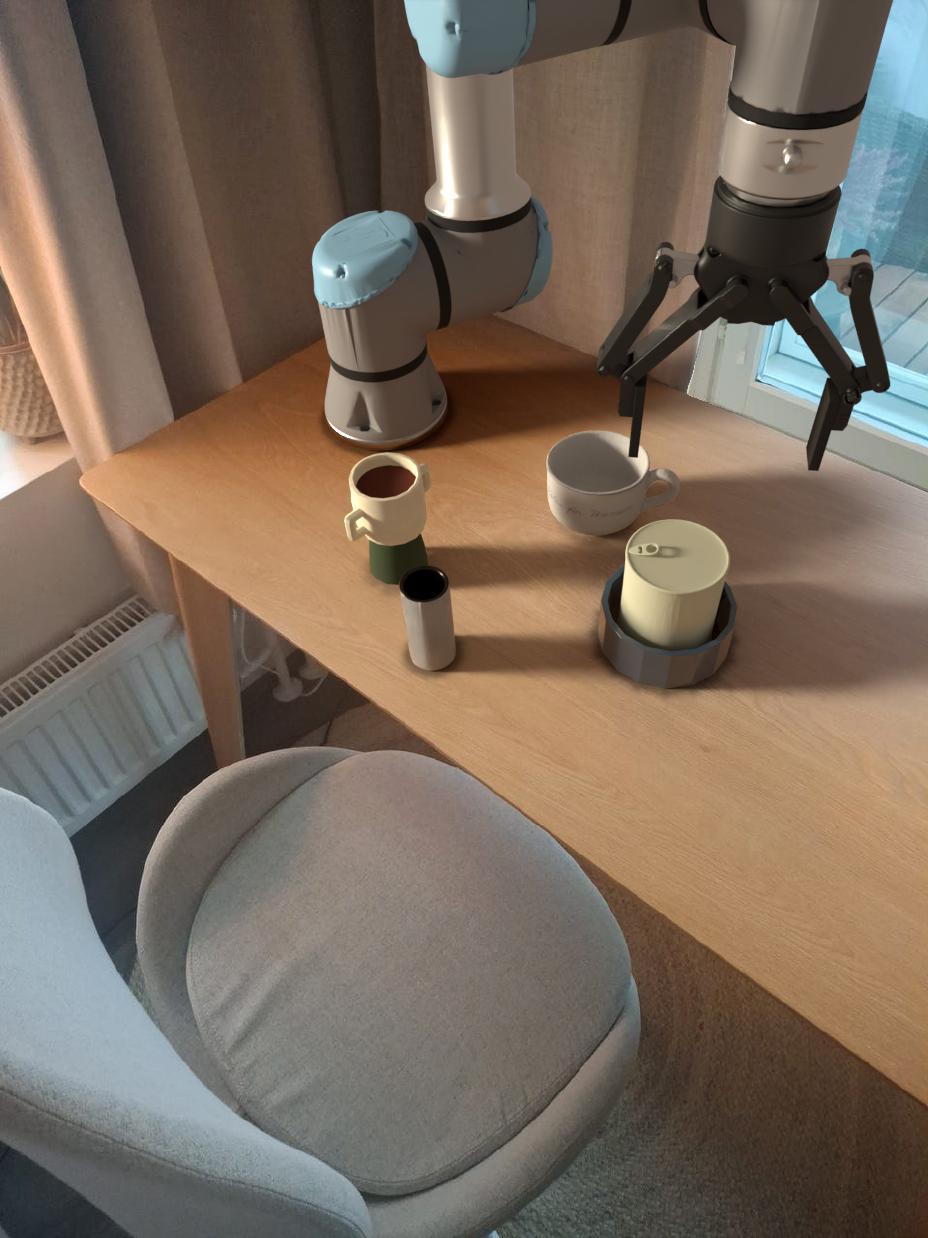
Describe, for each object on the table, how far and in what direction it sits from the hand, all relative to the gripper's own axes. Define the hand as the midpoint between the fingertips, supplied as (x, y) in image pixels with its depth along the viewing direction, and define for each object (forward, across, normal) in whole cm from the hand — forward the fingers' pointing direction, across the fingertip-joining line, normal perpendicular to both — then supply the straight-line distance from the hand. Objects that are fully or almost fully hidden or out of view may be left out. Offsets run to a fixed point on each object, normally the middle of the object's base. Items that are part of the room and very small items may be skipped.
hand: (721, 453), depth 71 cm
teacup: (+23, -9, +16) cm, 29 cm away
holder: (+23, -2, 0) cm, 23 cm away
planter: (+23, -24, -5) cm, 34 cm away
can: (+23, -2, 0) cm, 23 cm away
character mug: (+23, -30, +5) cm, 38 cm away
